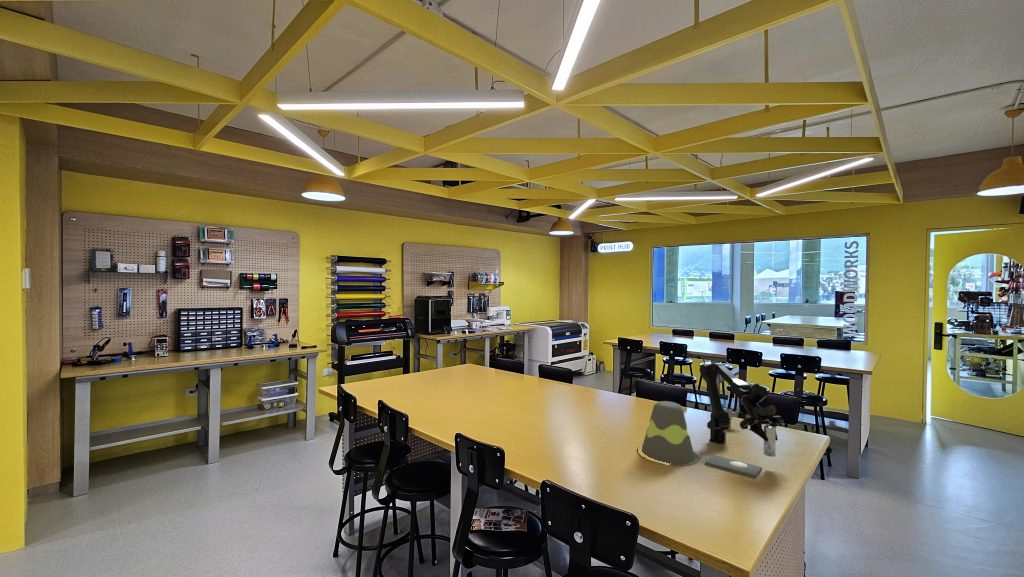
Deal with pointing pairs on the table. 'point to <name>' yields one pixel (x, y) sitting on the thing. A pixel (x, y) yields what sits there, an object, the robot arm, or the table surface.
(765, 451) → the metal pin
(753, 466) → the mat
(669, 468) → the table surface
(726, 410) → the mechanical component
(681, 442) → the grey tapered cylinder
